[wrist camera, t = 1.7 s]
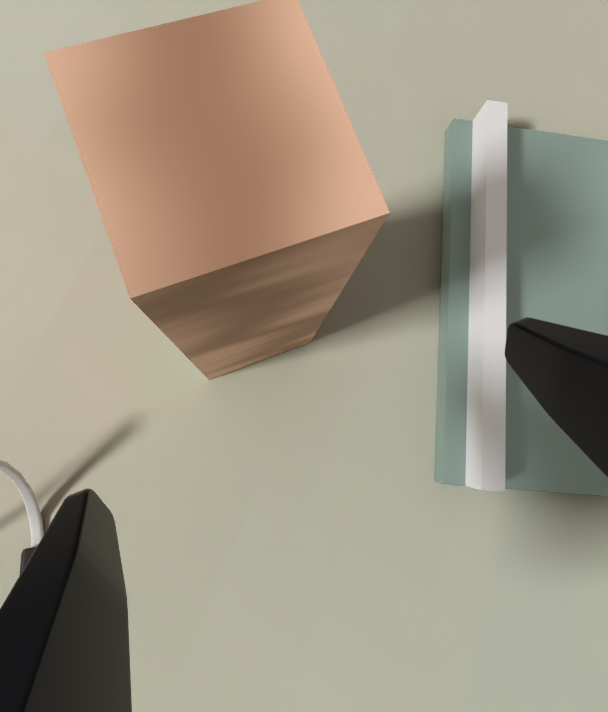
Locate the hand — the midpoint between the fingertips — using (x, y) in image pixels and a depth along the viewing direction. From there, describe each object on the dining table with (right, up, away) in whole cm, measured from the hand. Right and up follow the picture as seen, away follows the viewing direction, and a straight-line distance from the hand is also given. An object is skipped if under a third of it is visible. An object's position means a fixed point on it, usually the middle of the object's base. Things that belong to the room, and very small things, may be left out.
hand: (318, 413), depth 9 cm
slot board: (+16, +3, +14) cm, 21 cm away
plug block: (-3, +3, +12) cm, 13 cm away
